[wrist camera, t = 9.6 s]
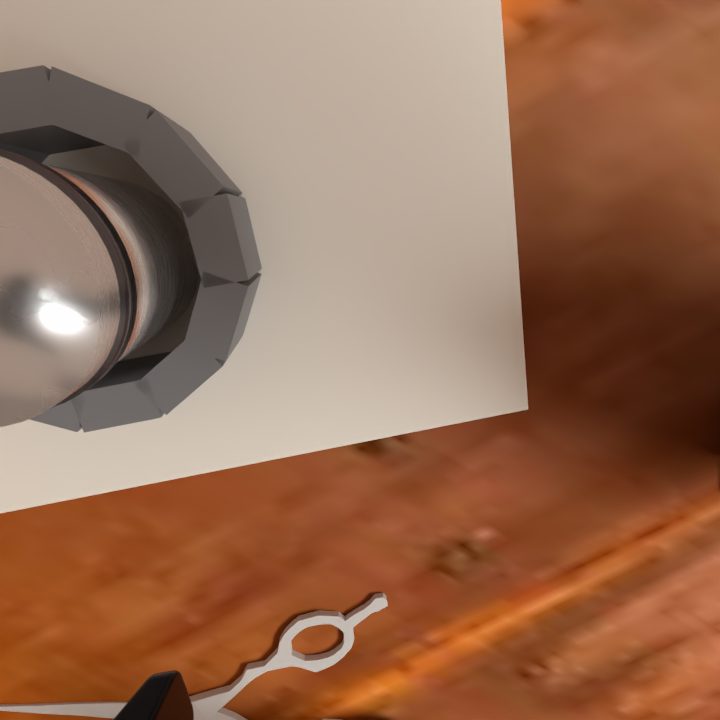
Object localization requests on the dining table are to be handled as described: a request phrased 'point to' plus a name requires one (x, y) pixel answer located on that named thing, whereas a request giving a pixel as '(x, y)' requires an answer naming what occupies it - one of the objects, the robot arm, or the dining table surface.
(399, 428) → the plate
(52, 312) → the piston
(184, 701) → the robot arm
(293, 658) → the scissors
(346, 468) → the dining table surface
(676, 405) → the dining table surface
